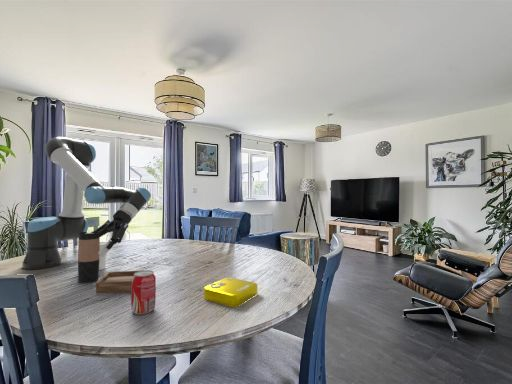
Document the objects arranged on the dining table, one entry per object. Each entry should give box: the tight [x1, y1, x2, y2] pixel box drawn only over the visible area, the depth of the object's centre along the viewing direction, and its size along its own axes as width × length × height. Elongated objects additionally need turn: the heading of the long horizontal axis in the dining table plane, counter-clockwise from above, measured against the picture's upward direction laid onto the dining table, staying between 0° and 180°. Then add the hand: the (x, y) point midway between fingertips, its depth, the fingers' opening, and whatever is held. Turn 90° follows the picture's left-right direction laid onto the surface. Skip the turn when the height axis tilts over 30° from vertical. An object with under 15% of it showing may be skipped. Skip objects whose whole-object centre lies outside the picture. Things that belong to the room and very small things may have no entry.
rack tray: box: [95, 269, 144, 295], centre depth 106 cm, size 14×14×4 cm
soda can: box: [130, 269, 157, 315], centre depth 85 cm, size 7×7×12 cm
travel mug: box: [77, 230, 101, 284], centre depth 113 cm, size 8×8×20 cm
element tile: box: [203, 276, 258, 308], centre depth 98 cm, size 15×15×5 cm
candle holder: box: [99, 241, 108, 271], centre depth 129 cm, size 10×10×12 cm
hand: (91, 253), depth 113 cm, fingers open, 13 cm apart
